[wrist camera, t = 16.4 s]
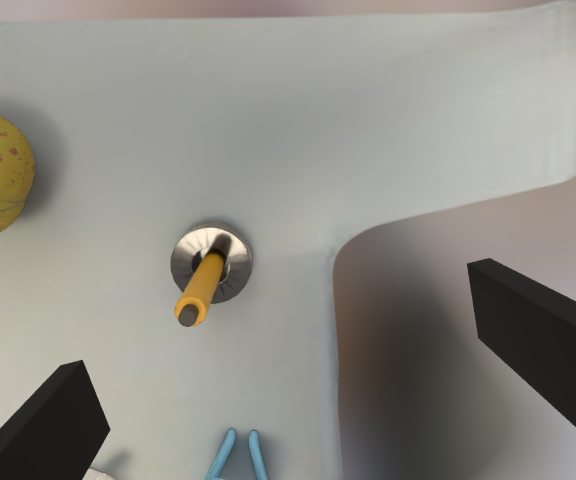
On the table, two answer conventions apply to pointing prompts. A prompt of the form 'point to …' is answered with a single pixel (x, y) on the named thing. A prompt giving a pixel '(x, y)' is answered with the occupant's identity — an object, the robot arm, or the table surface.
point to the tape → (204, 240)
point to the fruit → (14, 172)
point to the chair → (225, 450)
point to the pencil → (200, 289)
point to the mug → (96, 475)
